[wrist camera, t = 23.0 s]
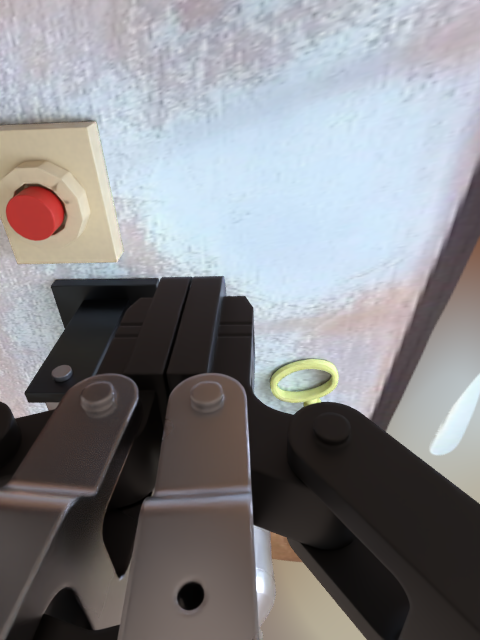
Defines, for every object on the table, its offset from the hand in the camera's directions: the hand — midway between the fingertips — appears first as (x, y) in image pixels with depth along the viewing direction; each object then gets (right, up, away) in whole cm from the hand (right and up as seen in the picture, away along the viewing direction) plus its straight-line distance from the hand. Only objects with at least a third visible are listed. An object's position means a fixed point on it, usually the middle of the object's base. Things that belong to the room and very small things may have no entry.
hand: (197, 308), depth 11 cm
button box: (-14, +10, +27) cm, 32 cm away
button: (-14, +8, +24) cm, 29 cm away
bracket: (-11, 0, +33) cm, 35 cm away
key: (+9, -9, +39) cm, 41 cm away
